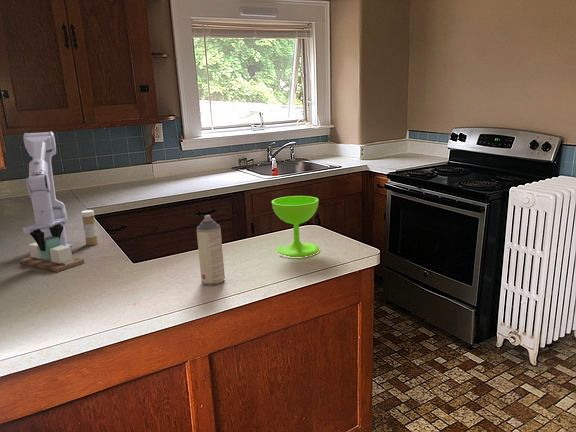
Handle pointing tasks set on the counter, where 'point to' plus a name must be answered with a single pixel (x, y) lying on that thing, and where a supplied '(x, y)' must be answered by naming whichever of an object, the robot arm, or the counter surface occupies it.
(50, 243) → the block
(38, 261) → the rail board
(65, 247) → the mounted modules
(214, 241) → the aerosol can
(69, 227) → the counter surface
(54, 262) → the rail
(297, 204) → the wineglass
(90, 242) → the sprinkles bottle
